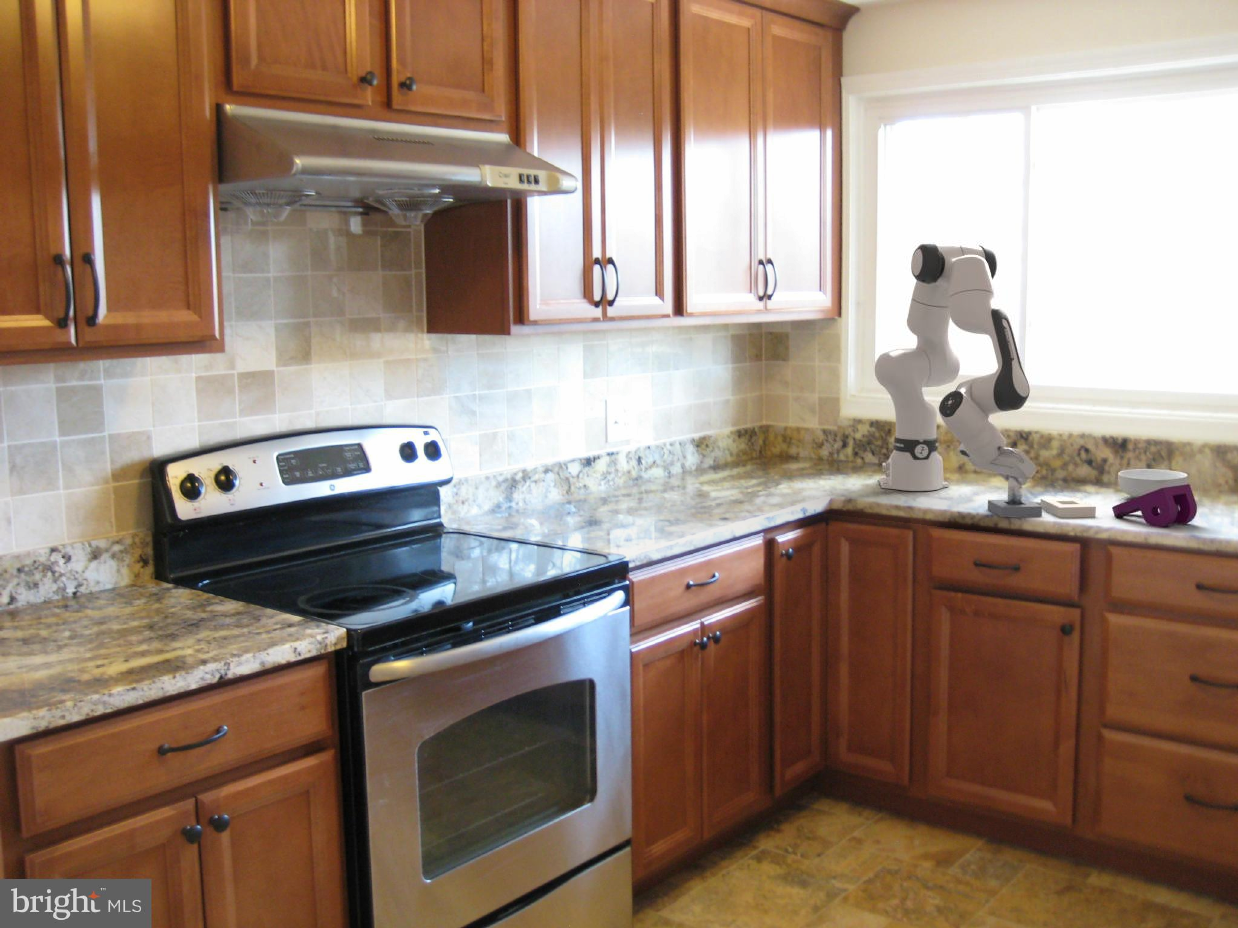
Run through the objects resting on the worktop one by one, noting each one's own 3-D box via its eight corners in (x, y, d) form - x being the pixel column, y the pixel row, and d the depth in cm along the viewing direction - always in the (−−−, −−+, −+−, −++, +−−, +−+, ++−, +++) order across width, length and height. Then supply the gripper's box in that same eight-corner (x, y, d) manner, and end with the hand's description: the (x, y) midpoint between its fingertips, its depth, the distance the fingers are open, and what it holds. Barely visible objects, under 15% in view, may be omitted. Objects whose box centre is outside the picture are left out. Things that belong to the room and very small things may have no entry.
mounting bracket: (1114, 542, 293) (1174, 522, 278) (1103, 509, 295) (1162, 487, 280) (1141, 538, 297) (1201, 518, 282) (1130, 505, 299) (1189, 483, 284)
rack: (1040, 508, 306) (1040, 498, 306) (1075, 507, 307) (1075, 497, 306) (1059, 517, 294) (1059, 507, 294) (1095, 516, 295) (1095, 506, 294)
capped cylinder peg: (1005, 511, 303) (1007, 452, 300) (1018, 511, 303) (1020, 452, 300) (1010, 514, 299) (1012, 454, 297) (1023, 514, 299) (1025, 454, 297)
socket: (987, 509, 306) (987, 499, 305) (1026, 508, 306) (1026, 499, 306) (1001, 517, 296) (1001, 507, 296) (1041, 516, 296) (1042, 506, 296)
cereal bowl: (1121, 492, 327) (1122, 466, 326) (1189, 497, 318) (1190, 470, 317) (1112, 502, 312) (1113, 475, 311) (1183, 508, 304) (1184, 480, 303)
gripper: (1023, 440, 286) (1054, 478, 291) (967, 431, 305) (998, 466, 310) (1007, 460, 285) (1039, 497, 290) (952, 449, 304) (983, 484, 309)
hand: (1017, 481), depth 300 cm, fingers closed on capped cylinder peg, 3 cm apart
